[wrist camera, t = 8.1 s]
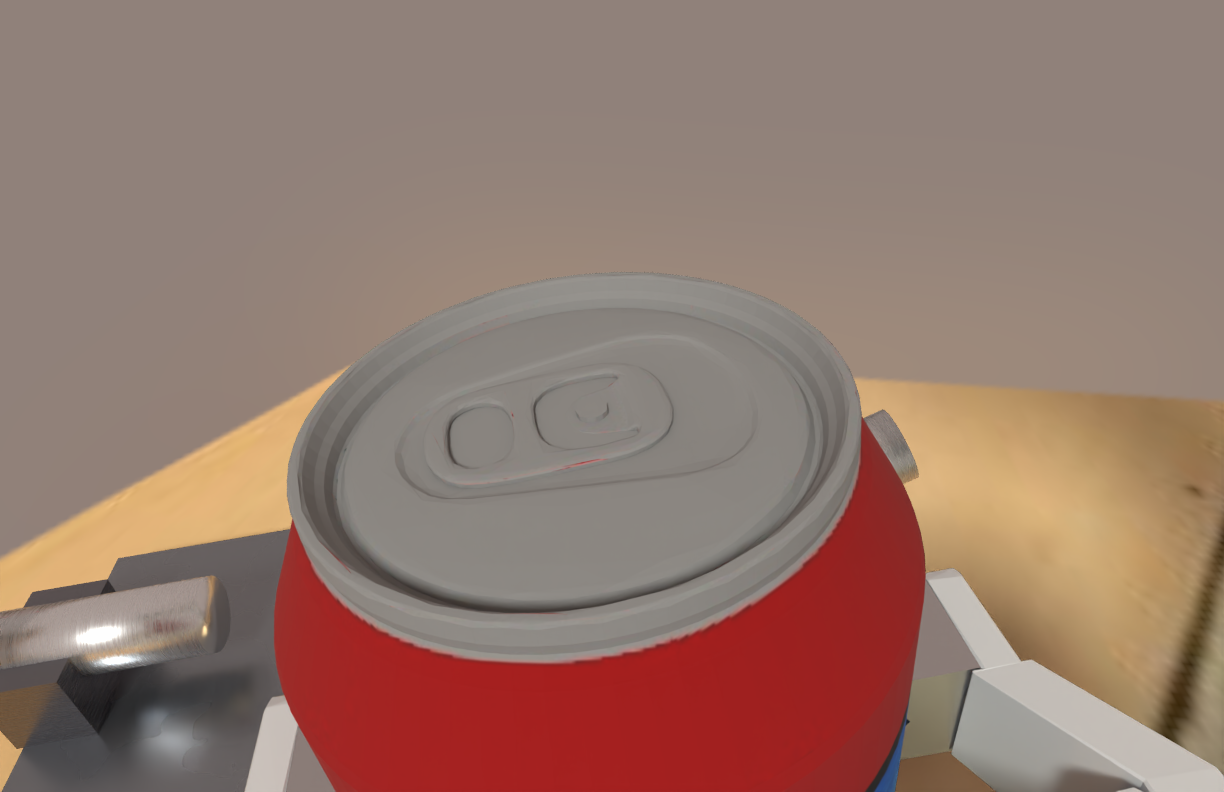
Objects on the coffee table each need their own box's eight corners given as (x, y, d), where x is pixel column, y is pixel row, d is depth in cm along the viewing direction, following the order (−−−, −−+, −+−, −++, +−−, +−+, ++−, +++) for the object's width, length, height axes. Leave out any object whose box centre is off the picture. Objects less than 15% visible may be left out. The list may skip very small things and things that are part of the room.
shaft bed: (830, 459, 34) (842, 320, 30) (980, 709, 24) (1027, 550, 20) (105, 584, 31) (17, 452, 28) (-59, 914, 22) (-231, 780, 18)
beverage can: (938, 1115, 12) (1161, 570, 5) (498, 1261, 11) (84, 852, 4) (772, 723, 18) (773, 208, 11) (469, 805, 17) (262, 309, 10)
